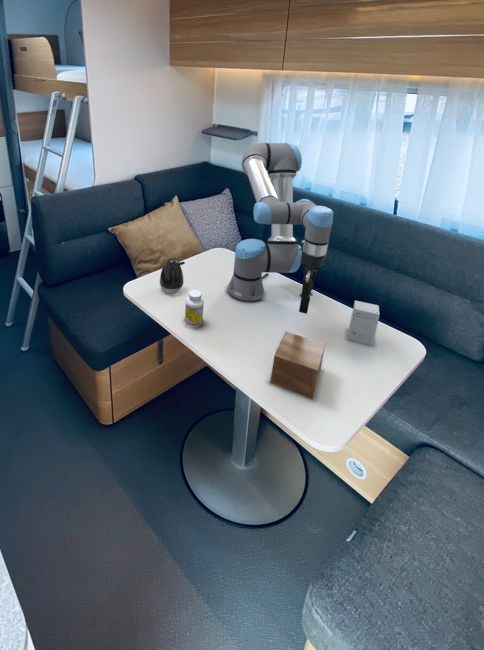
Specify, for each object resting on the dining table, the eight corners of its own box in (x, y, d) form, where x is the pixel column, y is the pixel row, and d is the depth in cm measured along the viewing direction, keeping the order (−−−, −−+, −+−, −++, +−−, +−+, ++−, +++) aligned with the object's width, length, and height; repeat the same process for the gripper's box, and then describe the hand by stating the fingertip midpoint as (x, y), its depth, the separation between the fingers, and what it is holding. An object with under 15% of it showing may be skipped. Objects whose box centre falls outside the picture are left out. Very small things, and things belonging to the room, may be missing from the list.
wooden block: (281, 357, 137) (285, 331, 134) (320, 370, 132) (325, 343, 128) (270, 383, 126) (274, 355, 122) (312, 399, 120) (317, 370, 117)
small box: (372, 335, 149) (379, 305, 145) (372, 346, 144) (380, 314, 139) (348, 329, 152) (354, 299, 148) (347, 339, 147) (354, 308, 142)
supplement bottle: (181, 320, 155) (182, 290, 151) (196, 315, 158) (198, 286, 154) (190, 330, 150) (192, 300, 145) (205, 325, 153) (207, 295, 148)
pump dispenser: (181, 298, 170) (182, 265, 164) (157, 295, 171) (157, 262, 166) (185, 285, 179) (186, 254, 174) (162, 282, 181) (163, 252, 175)
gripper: (306, 242, 142) (296, 299, 151) (298, 257, 131) (288, 318, 140) (328, 247, 139) (317, 305, 148) (322, 263, 128) (310, 325, 137)
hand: (303, 311), depth 144 cm, fingers closed
